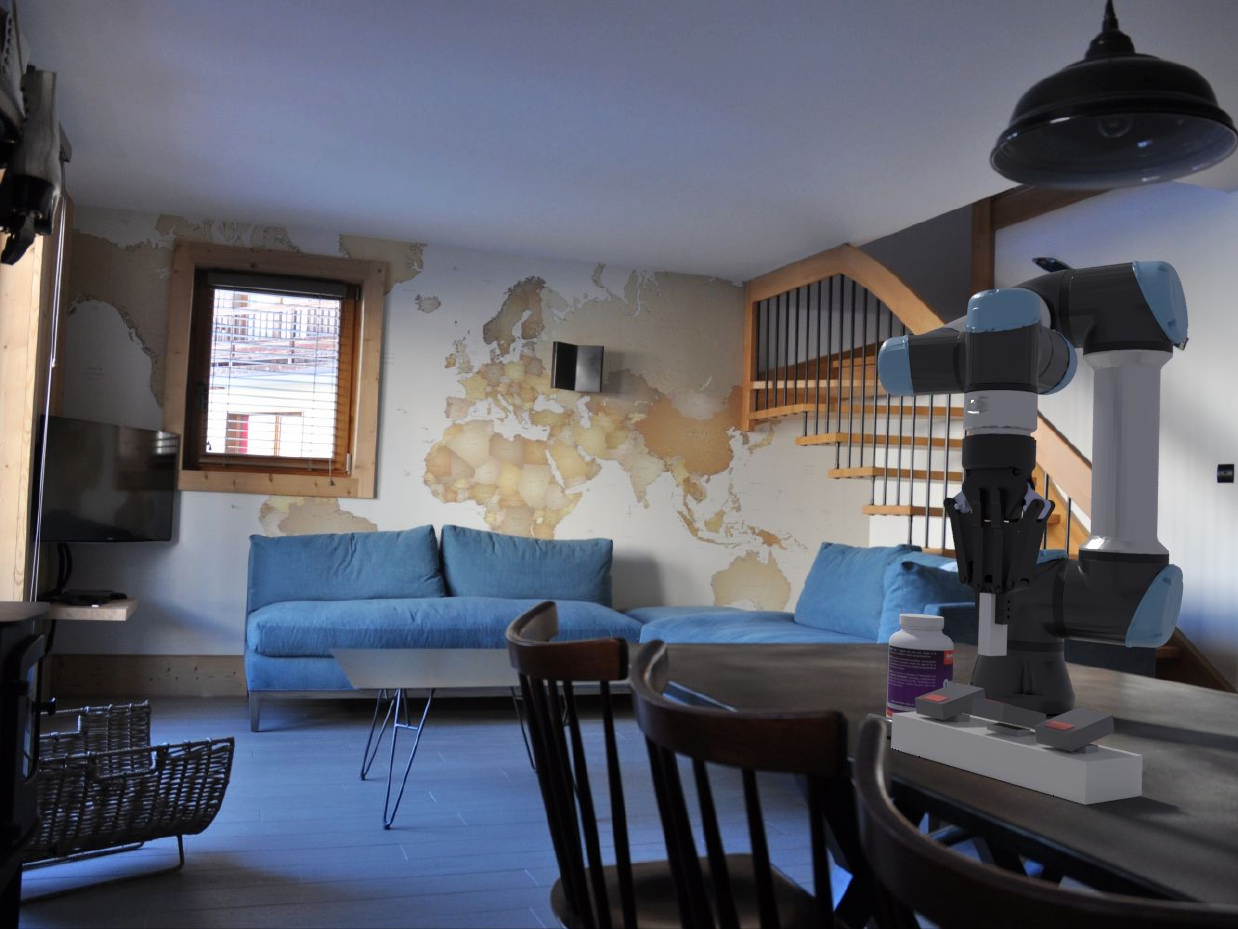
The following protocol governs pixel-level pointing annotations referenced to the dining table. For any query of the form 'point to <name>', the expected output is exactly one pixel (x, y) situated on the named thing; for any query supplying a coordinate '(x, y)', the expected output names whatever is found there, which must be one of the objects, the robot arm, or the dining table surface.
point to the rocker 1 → (948, 701)
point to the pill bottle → (917, 661)
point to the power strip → (1018, 756)
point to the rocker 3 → (1074, 729)
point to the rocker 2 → (1007, 713)
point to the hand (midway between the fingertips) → (992, 654)
